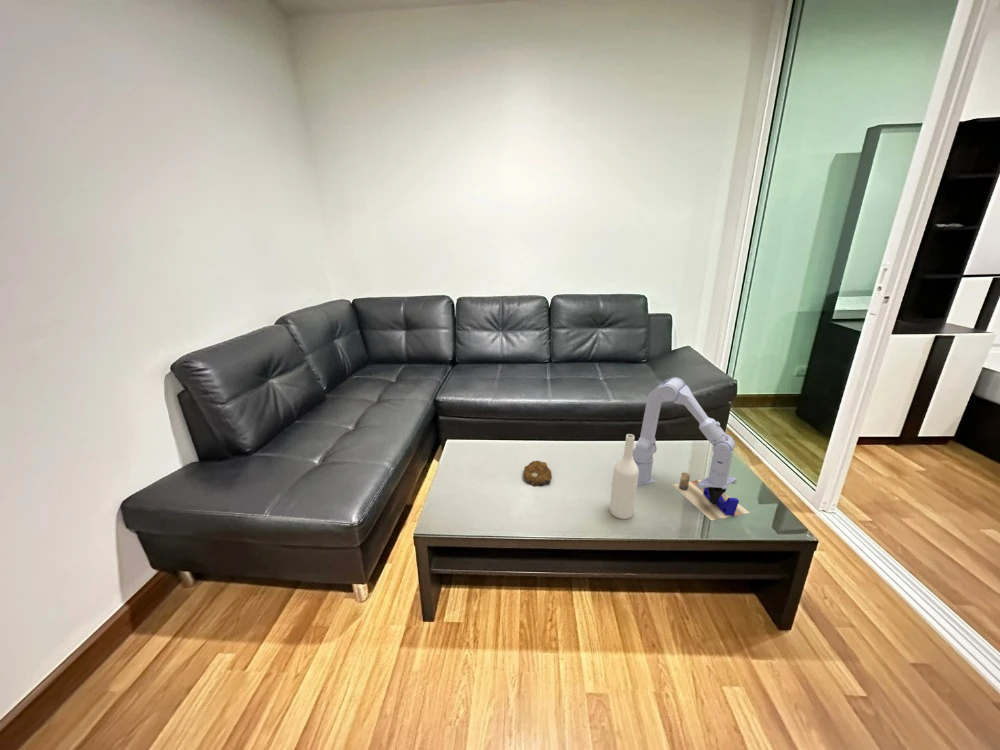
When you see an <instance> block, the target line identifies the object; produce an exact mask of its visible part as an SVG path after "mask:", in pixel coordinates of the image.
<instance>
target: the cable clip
mask: <svg viewBox="0 0 1000 750" xmlns="http://www.w3.org/2000/svg"><path fill="white" fill-rule="evenodd" d="M703 494H704V495H705V496H706V497H707V498H708V500H709V501H710V495H709V491H708V488H705V489H704V492H703ZM739 502H740V500H739V499H738V497H737V498H736V497H731V498H728V499H727V501H725V500H724V499H723V497H722V495H721V496H720V498H719V499H718V501H717V503H716V505H717V506H718V507H719V508H720V509H721V510H722V511H723V513H724V514H725V515H734V514H735V511H736V508H737V505H738V504H739Z"/></svg>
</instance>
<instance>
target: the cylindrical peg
mask: <svg viewBox="0 0 1000 750" xmlns="http://www.w3.org/2000/svg"><path fill="white" fill-rule="evenodd" d="M690 478H691V474H690V473H688V472H685V471H684V472H681V475H680V481H679V483H680V485H679V488H680V489H681V490H688V485H689V482H690Z"/></svg>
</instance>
